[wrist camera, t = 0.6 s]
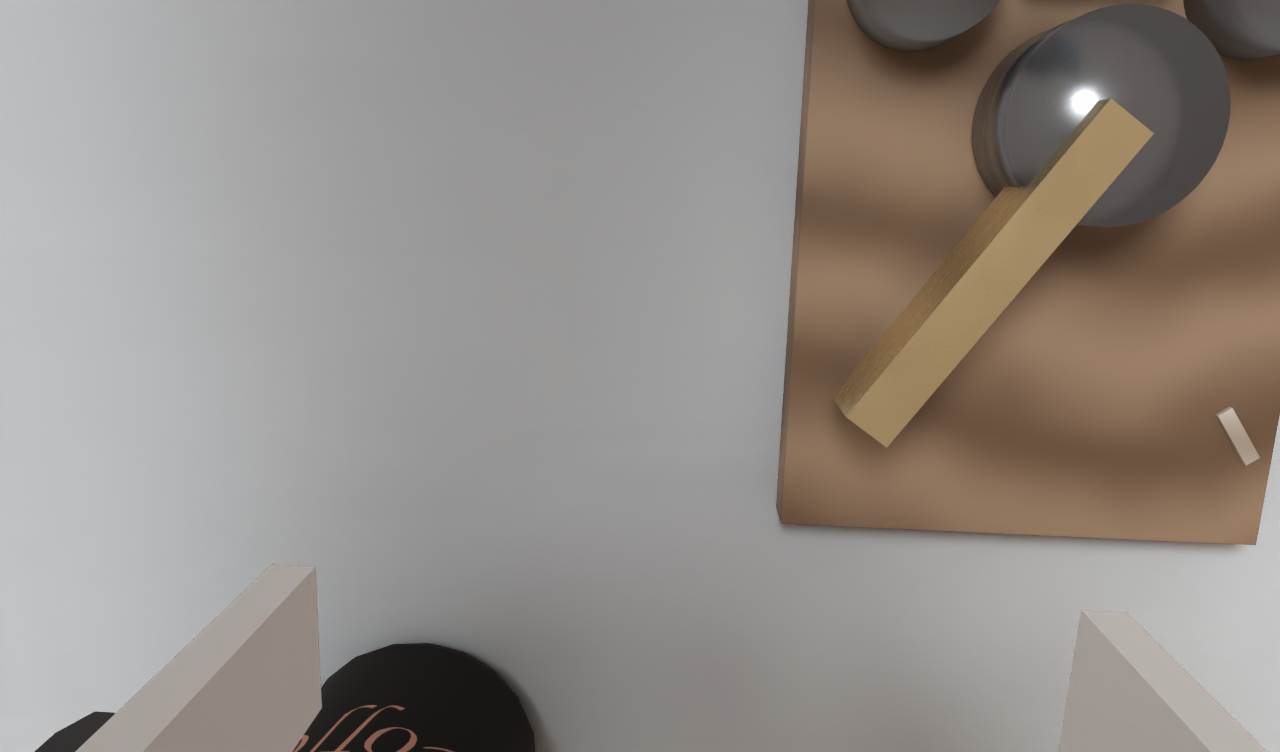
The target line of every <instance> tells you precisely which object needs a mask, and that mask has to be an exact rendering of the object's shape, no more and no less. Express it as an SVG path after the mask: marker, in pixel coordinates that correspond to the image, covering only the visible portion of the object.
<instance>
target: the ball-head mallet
mask: <svg viewBox="0 0 1280 752" xmlns="http://www.w3.org/2000/svg"><path fill="white" fill-rule="evenodd" d="M1230 107H1231V98H1230V86H1229V82H1228V77H1227V73H1226V70H1225V68H1224V65H1223V62H1222V60H1221V58H1220V56H1219V54H1218V52H1217V50H1216V49H1215V47H1214V46H1213V44H1212V43H1211V42H1210V40H1209V39H1208V38H1207V36H1206V35H1205V34H1204V33H1203V32H1202V31H1201V30H1200V29H1199V28H1197V27H1196V26H1195V25H1194V24H1192V23H1191V22H1190V21H1188V20H1187V19H1185V18H1184V17H1182V16H1180V15H1178V14H1176V13H1174V12H1172V11H1169V10H1166V9H1163V8H1160V7H1156V6H1151V5H1146V4H1119V5H1112V6H1108V7H1103V8H1099V9H1096V10H1094V11H1091V12H1088V13H1085V14H1083V15H1081V16H1079V17H1076V18H1074V19H1072V20H1069V21H1067V22H1065V23H1063V24H1060V25H1058V26H1056V27H1053V28H1051V29H1049V30H1047V31H1044V32H1042V33H1040V34H1038V35H1036V36H1034V37H1032V38H1030V39H1028V40H1026V41H1025V42H1023V43H1022V44H1020V45H1019V46H1017V47H1016V48H1015V49H1014V50H1012V51H1011V52H1010V53H1009V54H1008V55H1007V56H1006V57H1005V58H1004V59H1003V60H1002V61H1001V62H1000V63H999V64H998V65H997V67H996V68H995V69H994V71H993V72H992V74H991V75H990V76H989V78H988V80H987V82H986V83H985V85H984V87H983V89H982V91H981V94H980V96H979V99H978V102H977V105H976V109H975V113H974V119H973V127H972V141H973V148H974V154H975V158H976V162H977V165H978V168H979V170H980V172H981V174H982V177H983V178H984V180H985V182H986V183H987V185H988V187H989V188H990V189H991V190H992V191H993V193H994V194H995V195H996V196H997V197H996V198H995V199H994V200H993V202H992V203H991V204H990V205H989V206H988V208H987V209H986V210H985V211H984V213H983V214H982V215H981V216H980V217H979V219H978V220H977V221H976V222H975V223H974V225H973V226H972V227H971V228H970V230H969V231H968V232H967V233H966V234H965V236H964V237H963V238H962V239H961V240H960V242H959V243H958V244H957V245H956V247H955V248H954V249H953V250H952V251H951V253H950V254H949V255H948V256H947V257H946V259H945V260H944V261H943V262H942V264H941V265H940V266H939V267H938V268H937V270H936V271H935V272H934V273H933V274H932V276H931V277H930V278H929V279H928V281H927V282H926V283H925V284H924V285H923V287H922V288H921V289H920V290H919V291H918V293H917V294H916V295H915V296H914V298H913V299H912V300H911V301H910V302H909V304H908V305H907V306H906V307H905V308H904V310H903V311H902V312H901V313H900V315H899V316H898V317H897V318H896V319H895V321H894V322H893V323H892V324H891V326H890V327H889V328H888V329H887V330H886V332H885V333H884V334H883V335H882V336H881V338H880V339H879V340H878V341H877V343H876V344H875V345H874V346H873V347H872V349H871V350H870V351H869V352H868V353H867V355H866V356H865V357H864V358H863V360H862V361H861V362H860V363H859V364H858V366H857V367H856V368H855V369H854V370H853V372H852V373H851V374H850V375H849V377H848V378H847V379H846V380H845V381H844V383H843V384H842V385H841V386H840V387H839V389H838V390H837V391H836V392H835V394H834V395H833V396H832V398H833V400H834V401H835V402H836V404H837V405H838V407H839V408H840V409H841V411H842V412H843V414H844V415H845V416H846V417H847V418H848V419H849V420H851V421H852V422H853V423H855V424H856V425H857V426H859V427H860V428H861V429H863V430H864V431H865V432H866V433H868V434H869V435H870V436H872V437H873V438H874V439H876V440H877V441H878V442H880V443H881V444H882V445H884V446H885V447H886V448H887V447H888V446H889V445H890V443H891V442H892V441H893V440H894V439H895V437H896V436H897V435H898V434H899V433H900V432H901V430H902V429H903V428H904V427H905V426H906V425H907V423H908V422H909V421H910V420H911V419H912V417H913V416H914V415H915V414H916V413H917V412H918V410H919V409H920V408H921V407H922V406H923V405H924V403H925V402H926V401H927V400H928V399H929V397H930V396H931V395H932V394H933V393H934V392H935V390H936V389H937V388H938V387H939V386H940V385H941V383H942V382H943V381H944V380H945V379H946V377H947V376H948V375H949V374H950V373H951V372H952V370H953V369H954V368H955V367H956V366H957V365H958V363H959V362H960V361H961V360H962V359H963V358H964V356H965V355H966V354H967V353H968V352H969V350H970V349H971V348H972V347H973V346H974V345H975V343H976V342H977V341H978V340H979V339H980V338H981V336H982V335H983V334H984V333H985V332H986V330H987V329H988V328H989V327H990V326H991V325H992V323H993V322H994V321H995V320H996V319H997V318H998V316H999V315H1000V314H1001V313H1002V312H1003V310H1004V309H1005V308H1006V307H1007V306H1008V305H1009V303H1010V302H1011V301H1012V300H1013V299H1014V298H1015V296H1016V295H1017V294H1018V293H1019V292H1020V290H1021V289H1022V288H1023V287H1024V286H1025V285H1026V283H1027V282H1028V281H1029V280H1030V279H1031V278H1032V276H1033V275H1034V274H1035V273H1036V272H1037V271H1038V269H1039V268H1040V267H1041V266H1042V265H1043V263H1044V262H1045V261H1046V260H1047V259H1048V258H1049V256H1050V255H1051V254H1052V253H1053V252H1054V251H1055V249H1056V248H1057V247H1058V246H1059V245H1060V243H1061V242H1062V241H1063V240H1064V239H1065V238H1066V236H1067V235H1068V234H1069V233H1070V232H1071V231H1072V229H1073V228H1074V227H1075V226H1076V225H1084V226H1095V227H1118V226H1126V225H1131V224H1136V223H1139V222H1142V221H1145V220H1148V219H1151V218H1153V217H1155V216H1158V215H1160V214H1162V213H1164V212H1166V211H1167V210H1169V209H1170V208H1172V207H1174V206H1175V205H1177V204H1178V203H1179V202H1181V201H1182V200H1183V199H1184V198H1185V197H1187V196H1188V195H1189V194H1190V193H1191V192H1192V191H1193V190H1194V189H1195V188H1196V187H1197V186H1198V185H1199V184H1200V183H1201V181H1202V180H1203V179H1204V177H1205V176H1206V175H1207V174H1208V172H1209V171H1210V169H1211V167H1212V166H1213V164H1214V162H1215V161H1216V159H1217V157H1218V155H1219V153H1220V150H1221V148H1222V146H1223V143H1224V140H1225V137H1226V134H1227V130H1228V125H1229V119H1230Z"/></svg>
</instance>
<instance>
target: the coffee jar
mask: <svg viewBox="0 0 1280 752" xmlns="http://www.w3.org/2000/svg"><path fill="white" fill-rule="evenodd" d="M321 698H322V708H321V710H320V711H319V713H318V714H317V716H316V717H315V719H314V720H313V722H312V723H311V725H310V726H309V728H308V729H307V731H306V732H305V734H304V735H303V737H302V738H301V740H300V741H299V742H298V744H297V745H296V747H295V748H294V750H293V751H292V752H535V743H534V733H533V730H532V728H531V726H530V723H529V721H528V719H527V717H526V714H525V712H524V710H523V708H522V706H521V703H520V701H519V699H518V697H517V696H516V695H515V694H514V693H513V691H512V690H511V689H510V688H509V687H508V686H507V685H506V684H505V683H504V681H503V680H502V679H501V678H500V677H499V676H498V675H497V674H496V672H495V671H493V670H492V669H490V668H489V667H487V666H485V665H484V664H482V663H480V662H479V661H477V660H475V659H474V658H472V657H470V656H469V655H467V654H466V653H464V652H460V651H456V650H452V649H449V648H445V647H441V646H438V645H434V644H429V643H424V644H393V645H390V646H387V647H384V648H381V649H378V650H375V651H372V652H369V653H366V654H363V655H360V656H358V657H355V658H354V659H352V660H351V661H350V662H349V663H347V664H346V665H345V666H343V667H342V668H341V669H339V670H338V671H337V672H336V673H334V674H333V675H332V676H330V677H329V678H328V679H327V681H326V682H325V683H324V685H323V686H322V688H321Z"/></svg>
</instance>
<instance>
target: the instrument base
mask: <svg viewBox="0 0 1280 752" xmlns="http://www.w3.org/2000/svg"><path fill="white" fill-rule="evenodd" d="M1119 4H1146V5H1151V6H1156V7H1160V8H1163V9H1166V10H1169V11H1172V12H1174V13H1176V14H1178V15H1180V16H1182V17H1184V18H1185V19H1187V20H1188V21H1190V22H1191V23H1192V24H1194V25H1195V26H1196V27H1197V28H1199V29H1200V30H1201V31H1202V32H1203V33H1204V34H1205V35H1206V36H1207V38H1208V39H1209V40H1210V42H1211V43H1212V44H1213V46H1214V47H1215V49H1216V50H1217V52H1218V54H1219V56H1220V58H1221V60H1222V62H1223V65H1224V68H1225V70H1226V73H1227V77H1228V82H1229V86H1230V98H1231V107H1230V119H1229V125H1228V130H1227V134H1226V137H1225V140H1224V143H1223V146H1222V148H1221V150H1220V153H1219V155H1218V157H1217V159H1216V161H1215V162H1214V164H1213V166H1212V167H1211V169H1210V171H1209V172H1208V174H1207V175H1206V176H1205V177H1204V179H1203V180H1202V181H1201V183H1200V184H1199V185H1198V186H1197V187H1196V188H1195V189H1194V190H1193V191H1192V192H1191V193H1190V194H1189V195H1188V196H1187V197H1185V198H1184V199H1183V200H1182V201H1181V202H1179V203H1178V204H1177V205H1175V206H1174V207H1172V208H1170V209H1169V210H1167V211H1166V212H1164V213H1162V214H1160V215H1158V216H1155V217H1153V218H1151V219H1148V220H1145V221H1142V222H1139V223H1136V224H1131V225H1126V226H1118V227H1095V226H1084V225H1076V226H1075V227H1074V228H1073V229H1072V231H1071V232H1070V233H1069V234H1068V235H1067V236H1066V238H1065V239H1064V240H1063V241H1062V242H1061V243H1060V245H1059V246H1058V247H1057V248H1056V249H1055V251H1054V252H1053V253H1052V254H1051V255H1050V256H1049V258H1048V259H1047V260H1046V261H1045V262H1044V263H1043V265H1042V266H1041V267H1040V268H1039V269H1038V271H1037V272H1036V273H1035V274H1034V275H1033V276H1032V278H1031V279H1030V280H1029V281H1028V282H1027V283H1026V285H1025V286H1024V287H1023V288H1022V289H1021V290H1020V292H1019V293H1018V294H1017V295H1016V296H1015V298H1014V299H1013V300H1012V301H1011V302H1010V303H1009V305H1008V306H1007V307H1006V308H1005V309H1004V310H1003V312H1002V313H1001V314H1000V315H999V316H998V318H997V319H996V320H995V321H994V322H993V323H992V325H991V326H990V327H989V328H988V329H987V330H986V332H985V333H984V334H983V335H982V336H981V338H980V339H979V340H978V341H977V342H976V343H975V345H974V346H973V347H972V348H971V349H970V350H969V352H968V353H967V354H966V355H965V356H964V358H963V359H962V360H961V361H960V362H959V363H958V365H957V366H956V367H955V368H954V369H953V370H952V372H951V373H950V374H949V375H948V376H947V377H946V379H945V380H944V381H943V382H942V383H941V385H940V386H939V387H938V388H937V389H936V390H935V392H934V393H933V394H932V395H931V396H930V397H929V399H928V400H927V401H926V402H925V403H924V405H923V406H922V407H921V408H920V409H919V410H918V412H917V413H916V414H915V415H914V416H913V417H912V419H911V420H910V421H909V422H908V423H907V425H906V426H905V427H904V428H903V429H902V430H901V432H900V433H899V434H898V435H897V436H896V437H895V439H894V440H893V441H892V442H891V443H890V445H889V446H888V447H887V448H886V447H885V446H884V445H882V444H881V443H880V442H878V441H877V440H876V439H874V438H873V437H872V436H870V435H869V434H868V433H866V432H865V431H864V430H863V429H861V428H860V427H859V426H857V425H856V424H855V423H853V422H852V421H851V420H849V419H848V418H847V417H846V416H845V415H844V414H843V412H842V411H841V409H840V408H839V407H838V405H837V404H836V402H835V401H834V400H833V398H832V396H833V395H834V394H835V392H836V391H837V390H838V389H839V387H840V386H841V385H842V384H843V383H844V381H845V380H846V379H847V378H848V377H849V375H850V374H851V373H852V372H853V370H854V369H855V368H856V367H857V366H858V364H859V363H860V362H861V361H862V360H863V358H864V357H865V356H866V355H867V353H868V352H869V351H870V350H871V349H872V347H873V346H874V345H875V344H876V343H877V341H878V340H879V339H880V338H881V336H882V335H883V334H884V333H885V332H886V330H887V329H888V328H889V327H890V326H891V324H892V323H893V322H894V321H895V319H896V318H897V317H898V316H899V315H900V313H901V312H902V311H903V310H904V308H905V307H906V306H907V305H908V304H909V302H910V301H911V300H912V299H913V298H914V296H915V295H916V294H917V293H918V291H919V290H920V289H921V288H922V287H923V285H924V284H925V283H926V282H927V281H928V279H929V278H930V277H931V276H932V274H933V273H934V272H935V271H936V270H937V268H938V267H939V266H940V265H941V264H942V262H943V261H944V260H945V259H946V257H947V256H948V255H949V254H950V253H951V251H952V250H953V249H954V248H955V247H956V245H957V244H958V243H959V242H960V240H961V239H962V238H963V237H964V236H965V234H966V233H967V232H968V231H969V230H970V228H971V227H972V226H973V225H974V223H975V222H976V221H977V220H978V219H979V217H980V216H981V215H982V214H983V213H984V211H985V210H986V209H987V208H988V206H989V205H990V204H991V203H992V202H993V200H994V199H995V198H996V197H997V196H996V195H995V194H994V193H993V191H992V190H991V189H990V188H989V187H988V185H987V183H986V182H985V180H984V178H983V177H982V174H981V172H980V170H979V168H978V165H977V162H976V158H975V154H974V148H973V141H972V127H973V119H974V113H975V109H976V105H977V102H978V99H979V96H980V94H981V91H982V89H983V87H984V85H985V83H986V82H987V80H988V78H989V76H990V75H991V74H992V72H993V71H994V69H995V68H996V67H997V65H998V64H999V63H1000V62H1001V61H1002V60H1003V59H1004V58H1005V57H1006V56H1007V55H1008V54H1009V53H1010V52H1011V51H1012V50H1014V49H1015V48H1016V47H1017V46H1019V45H1020V44H1022V43H1023V42H1025V41H1026V40H1028V39H1030V38H1032V37H1034V36H1036V35H1038V34H1040V33H1042V32H1044V31H1047V30H1049V29H1051V28H1053V27H1056V26H1058V25H1060V24H1063V23H1065V22H1067V21H1069V20H1072V19H1074V18H1076V17H1079V16H1081V15H1083V14H1085V13H1088V12H1091V11H1094V10H1096V9H1099V8H1103V7H1108V6H1112V5H1119ZM1279 415H1280V0H809V4H808V19H807V35H806V51H805V66H804V82H803V97H802V113H801V129H800V144H799V160H798V175H797V191H796V207H795V222H794V238H793V254H792V269H791V285H790V300H789V316H788V332H787V347H786V363H785V379H784V394H783V410H782V425H781V441H780V457H779V472H778V488H777V503H776V507H777V511H778V514H779V518H780V521H781V524H800V525H822V526H844V527H867V528H889V529H911V530H933V531H956V532H978V533H1000V534H1022V535H1045V536H1067V537H1089V538H1111V539H1134V540H1156V541H1178V542H1200V543H1223V544H1245V545H1256V541H1257V535H1258V530H1259V524H1260V519H1261V513H1262V508H1263V502H1264V497H1265V491H1266V486H1267V480H1268V475H1269V469H1270V464H1271V458H1272V453H1273V447H1274V442H1275V436H1276V431H1277V425H1278V420H1279Z"/></svg>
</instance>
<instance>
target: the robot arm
mask: <svg viewBox="0 0 1280 752" xmlns="http://www.w3.org/2000/svg"><path fill="white" fill-rule="evenodd" d="M321 708H322V698H321V676H320V655H319V633H318V612H317V590H316V569H315V567H311V566H294V565H276V564H272V565H271V566H270V567H269V568H268V569H267V570H266V571H265V572H264V573H263V574H261V575H260V576H259V577H258V578H257V579H256V580H255V581H254V582H253V583H252V584H251V585H250V586H249V587H248V588H247V589H246V590H245V591H244V592H243V593H242V594H240V595H239V596H238V597H237V598H236V599H235V600H234V601H233V602H232V603H231V604H230V605H229V606H228V607H227V608H226V609H225V610H224V611H223V612H222V613H220V614H219V615H218V616H217V617H216V618H215V619H214V620H213V621H212V622H211V623H210V624H209V625H208V626H207V627H206V628H205V629H204V630H203V631H202V632H201V633H199V634H198V635H197V636H196V637H195V638H194V639H193V640H192V641H191V642H190V643H189V644H188V645H187V646H186V647H185V648H184V649H183V650H182V651H181V652H180V653H178V654H177V655H176V656H175V657H174V658H173V659H172V660H171V661H170V662H169V663H168V664H167V665H166V666H165V667H164V668H163V669H162V670H161V671H160V672H159V673H157V674H156V675H155V676H154V677H153V678H152V679H151V680H150V681H149V682H148V683H147V684H146V685H145V686H144V687H143V688H142V689H141V690H140V691H139V692H137V693H136V694H135V695H134V696H133V697H132V698H131V699H130V700H129V701H128V702H127V703H126V704H125V705H124V706H123V707H122V708H121V709H120V710H119V711H118V712H116V713H108V712H93V713H91V714H90V715H88V716H86V717H84V718H82V719H80V720H79V721H77V722H75V723H73V724H71V725H69V726H68V727H66V728H64V729H62V730H60V731H58V732H57V733H55V734H54V735H53V736H52V737H50V738H49V739H48V740H47V741H46V742H45V743H44V744H43V745H42V746H40V747H39V748H38V749H37V750H36V751H35V752H292V751H293V750H294V748H295V747H296V745H297V744H298V742H299V741H300V740H301V738H302V737H303V735H304V734H305V732H306V731H307V729H308V728H309V726H310V725H311V723H312V722H313V720H314V719H315V717H316V716H317V714H318V713H319V711H320V710H321ZM1058 752H1268V751H1267V750H1266V749H1265V748H1264V747H1263V746H1262V745H1261V744H1260V743H1259V742H1258V741H1257V740H1256V739H1255V738H1254V737H1253V736H1252V735H1251V734H1250V733H1249V732H1248V731H1247V730H1246V729H1245V728H1244V727H1243V726H1242V725H1241V724H1240V723H1239V722H1238V721H1237V720H1236V719H1235V718H1234V717H1233V716H1232V715H1231V714H1230V713H1229V712H1228V711H1227V710H1226V709H1225V708H1224V707H1223V706H1222V705H1221V704H1220V703H1219V702H1218V701H1217V700H1216V699H1215V698H1214V697H1212V696H1211V695H1210V694H1209V693H1208V692H1207V691H1206V690H1205V689H1204V688H1203V687H1202V686H1201V685H1200V684H1199V683H1198V682H1197V681H1196V680H1195V679H1194V678H1193V677H1192V676H1191V675H1190V674H1189V673H1188V672H1187V671H1186V670H1185V669H1184V668H1183V667H1182V666H1181V665H1180V664H1179V663H1178V662H1177V661H1176V660H1175V659H1174V658H1173V657H1172V656H1171V655H1170V654H1169V653H1168V652H1167V651H1166V650H1165V649H1164V648H1163V647H1162V646H1161V645H1160V644H1159V643H1158V642H1157V641H1156V640H1155V639H1154V638H1153V637H1152V636H1151V635H1150V634H1149V633H1148V632H1147V631H1146V630H1145V629H1144V628H1143V627H1142V626H1141V625H1140V624H1139V623H1138V622H1137V621H1136V620H1135V619H1134V618H1133V617H1132V616H1131V615H1130V614H1129V613H1127V612H1110V611H1092V610H1081V615H1080V621H1079V627H1078V634H1077V640H1076V646H1075V652H1074V658H1073V664H1072V671H1071V677H1070V683H1069V689H1068V695H1067V702H1066V708H1065V714H1064V720H1063V726H1062V732H1061V739H1060V745H1059V751H1058Z"/></svg>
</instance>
